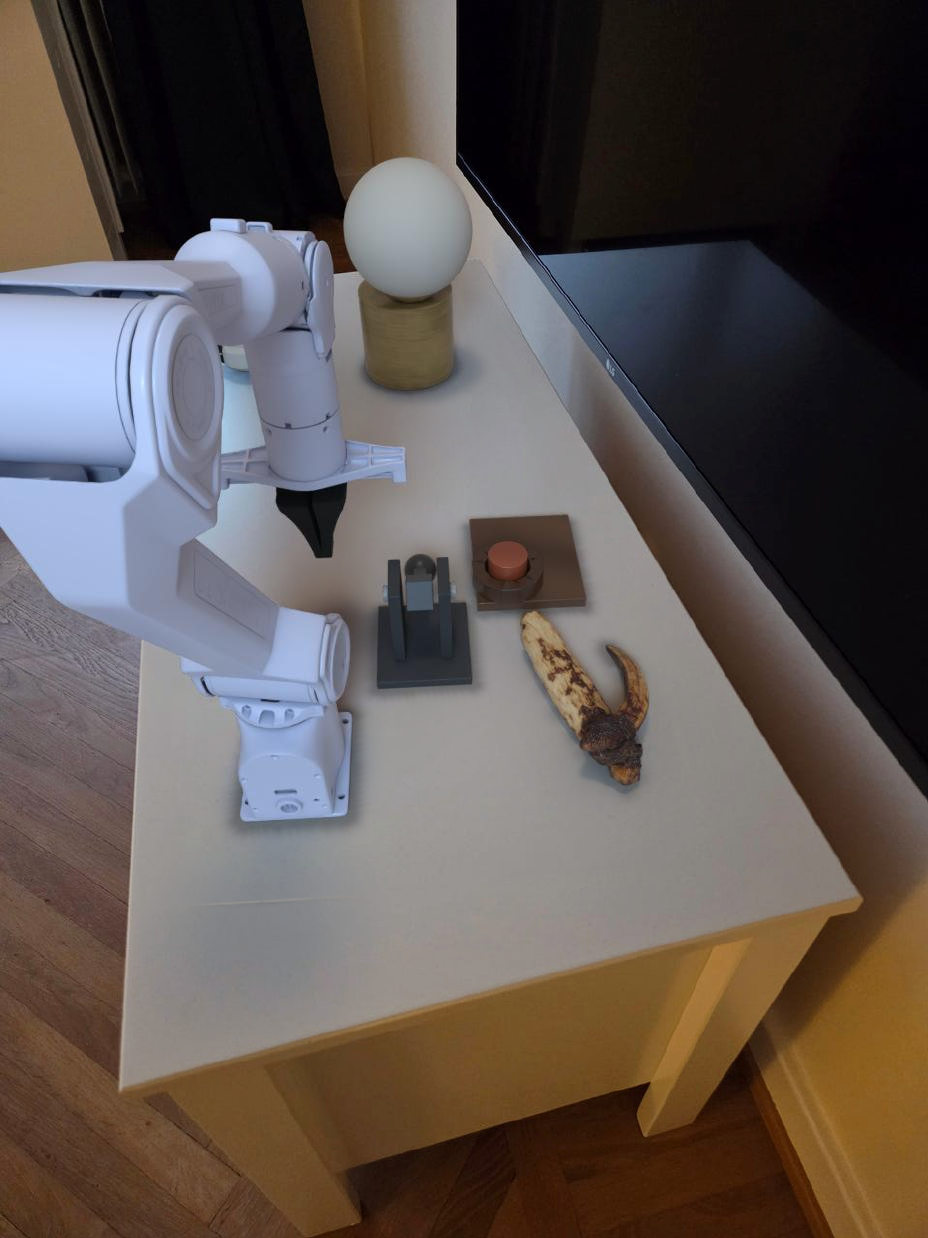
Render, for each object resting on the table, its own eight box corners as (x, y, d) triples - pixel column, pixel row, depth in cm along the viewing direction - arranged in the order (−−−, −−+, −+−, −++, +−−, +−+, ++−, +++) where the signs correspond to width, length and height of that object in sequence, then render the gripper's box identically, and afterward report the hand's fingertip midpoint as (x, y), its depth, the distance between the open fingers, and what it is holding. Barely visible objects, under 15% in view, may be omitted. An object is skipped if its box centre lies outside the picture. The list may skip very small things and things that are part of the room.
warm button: (528, 580, 76) (529, 566, 75) (489, 582, 76) (489, 568, 75) (524, 554, 78) (525, 540, 77) (486, 555, 78) (486, 541, 77)
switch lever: (405, 583, 78) (403, 551, 78) (437, 581, 78) (435, 550, 78) (402, 615, 68) (399, 579, 67) (438, 613, 68) (437, 577, 67)
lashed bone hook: (698, 767, 66) (588, 612, 77) (713, 732, 62) (595, 575, 73) (593, 806, 63) (495, 639, 74) (603, 772, 60) (499, 602, 71)
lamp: (490, 393, 102) (493, 173, 84) (380, 418, 99) (358, 195, 81) (446, 336, 112) (440, 128, 94) (345, 357, 109) (318, 145, 90)
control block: (585, 609, 77) (588, 586, 75) (474, 614, 77) (474, 591, 75) (567, 523, 85) (569, 500, 83) (466, 527, 85) (466, 504, 83)
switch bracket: (379, 613, 77) (370, 541, 71) (466, 609, 77) (464, 537, 71) (377, 690, 71) (367, 619, 64) (472, 685, 71) (471, 614, 65)
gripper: (401, 372, 62) (412, 515, 72) (204, 380, 62) (242, 522, 72) (401, 426, 57) (412, 571, 67) (188, 435, 57) (230, 579, 67)
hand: (324, 550), depth 69 cm, fingers closed
